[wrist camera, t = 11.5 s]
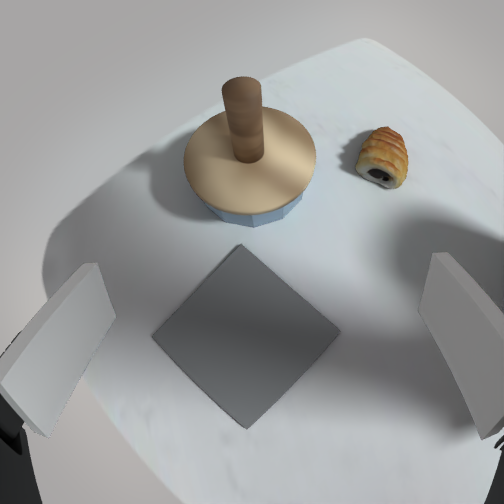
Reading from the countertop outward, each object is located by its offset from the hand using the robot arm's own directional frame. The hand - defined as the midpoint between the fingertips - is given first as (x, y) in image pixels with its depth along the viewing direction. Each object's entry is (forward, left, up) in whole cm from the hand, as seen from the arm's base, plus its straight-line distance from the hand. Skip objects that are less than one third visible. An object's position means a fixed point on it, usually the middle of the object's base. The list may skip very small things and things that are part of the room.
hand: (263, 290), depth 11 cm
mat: (+3, -1, -20) cm, 20 cm away
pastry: (-25, -3, -21) cm, 33 cm away
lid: (-11, -13, -16) cm, 23 cm away
